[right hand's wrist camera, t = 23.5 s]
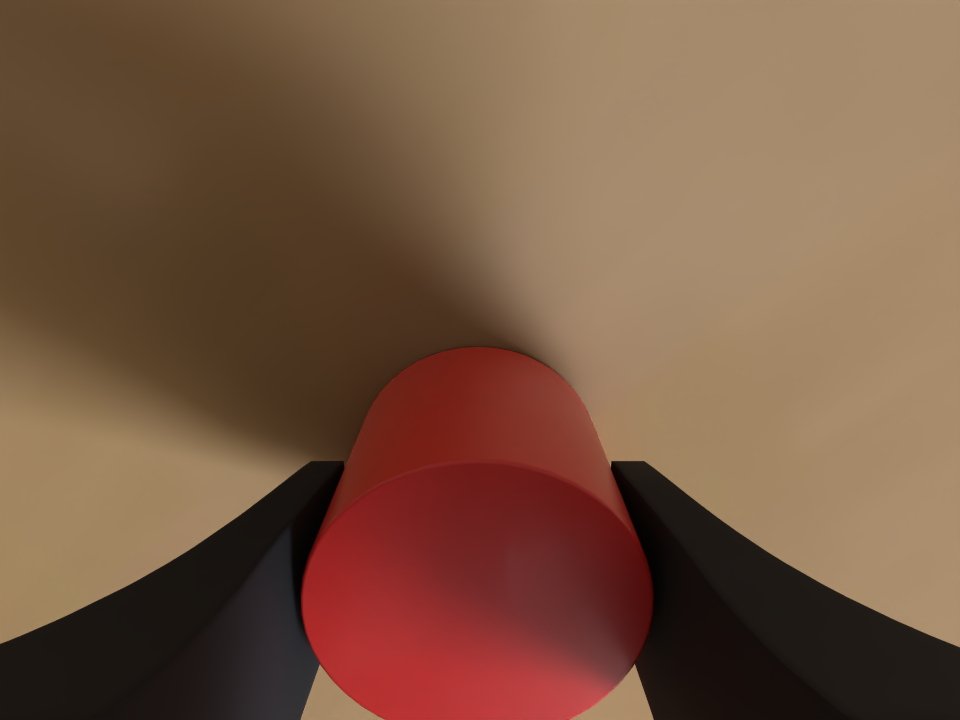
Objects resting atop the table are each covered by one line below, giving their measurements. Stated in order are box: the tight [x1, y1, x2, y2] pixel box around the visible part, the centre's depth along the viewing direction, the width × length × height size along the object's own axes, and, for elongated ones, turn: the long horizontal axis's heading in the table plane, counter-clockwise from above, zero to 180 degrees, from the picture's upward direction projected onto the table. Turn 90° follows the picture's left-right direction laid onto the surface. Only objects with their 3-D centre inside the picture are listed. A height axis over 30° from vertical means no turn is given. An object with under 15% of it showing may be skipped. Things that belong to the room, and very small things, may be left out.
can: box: [300, 347, 654, 720], centre depth 10 cm, size 5×5×4 cm
